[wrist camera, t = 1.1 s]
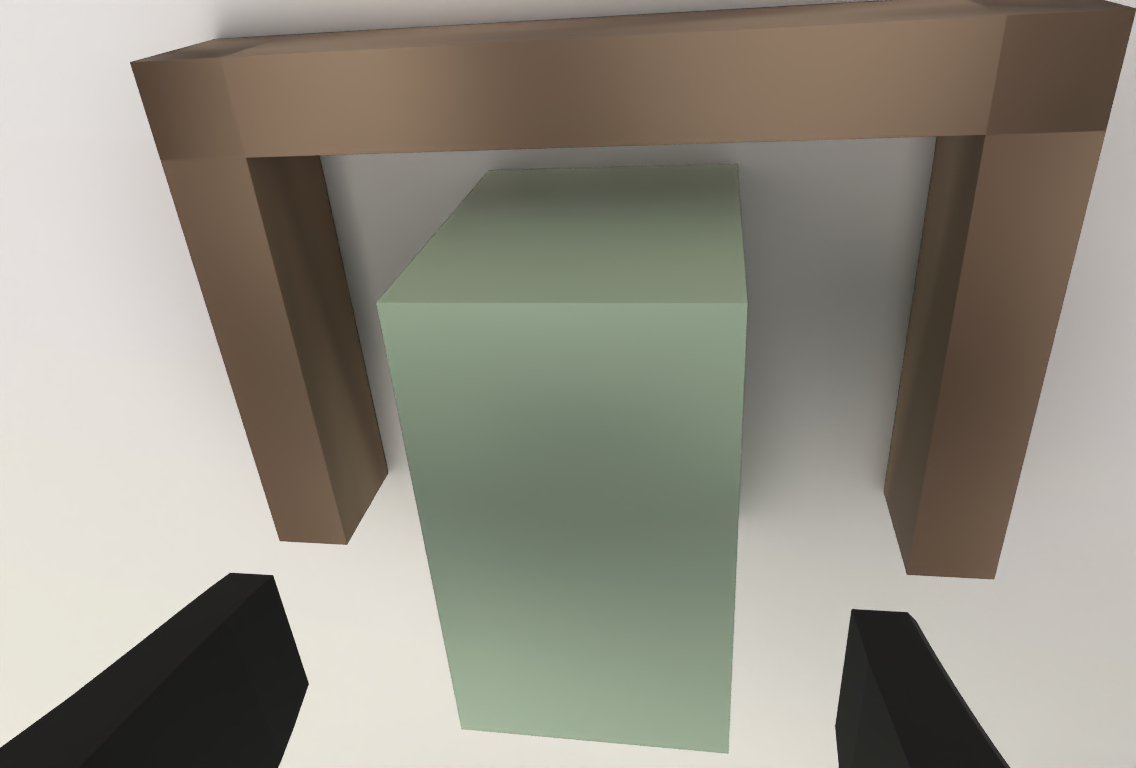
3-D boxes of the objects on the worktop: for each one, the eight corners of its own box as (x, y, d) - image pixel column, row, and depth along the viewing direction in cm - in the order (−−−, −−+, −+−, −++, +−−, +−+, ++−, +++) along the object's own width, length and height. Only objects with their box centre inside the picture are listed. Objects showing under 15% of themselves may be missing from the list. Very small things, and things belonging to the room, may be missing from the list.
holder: (1064, -10, 12) (1136, 8, 10) (959, 494, 17) (994, 579, 15) (215, 39, 15) (130, 62, 13) (327, 471, 19) (280, 541, 17)
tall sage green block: (737, 162, 15) (747, 303, 9) (725, 518, 19) (728, 753, 13) (489, 168, 15) (376, 302, 10) (529, 509, 19) (461, 729, 14)
